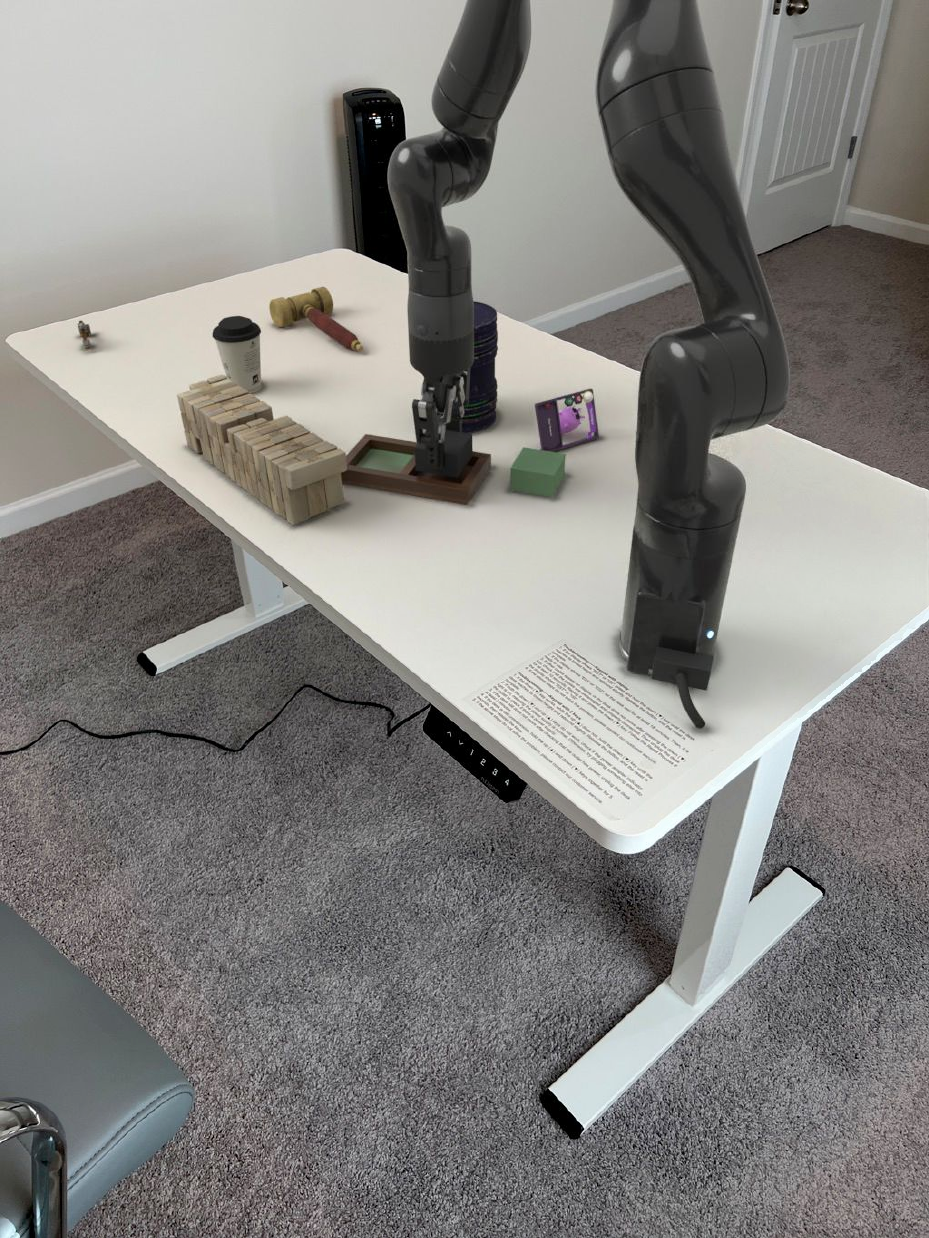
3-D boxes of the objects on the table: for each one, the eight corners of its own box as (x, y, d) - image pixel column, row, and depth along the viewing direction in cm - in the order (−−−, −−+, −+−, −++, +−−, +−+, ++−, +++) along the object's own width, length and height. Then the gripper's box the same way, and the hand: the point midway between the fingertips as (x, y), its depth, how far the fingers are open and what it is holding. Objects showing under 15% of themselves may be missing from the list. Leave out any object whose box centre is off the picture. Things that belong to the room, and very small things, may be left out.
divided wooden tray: (467, 505, 118) (467, 490, 116) (336, 482, 122) (335, 467, 121) (491, 468, 124) (491, 454, 123) (366, 447, 129) (365, 433, 128)
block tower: (183, 448, 131) (297, 532, 113) (170, 390, 126) (286, 468, 108) (234, 430, 135) (352, 508, 117) (223, 373, 130) (345, 446, 112)
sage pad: (553, 498, 119) (554, 475, 117) (509, 490, 120) (510, 468, 118) (564, 476, 123) (565, 453, 121) (522, 469, 124) (523, 447, 122)
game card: (539, 404, 124) (596, 388, 127) (518, 402, 128) (573, 386, 132) (546, 455, 126) (602, 438, 130) (526, 451, 131) (580, 435, 134)
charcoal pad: (457, 477, 118) (457, 454, 116) (415, 470, 120) (414, 447, 118) (472, 456, 122) (472, 433, 120) (431, 449, 124) (430, 427, 122)
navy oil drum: (484, 397, 141) (484, 296, 131) (507, 427, 133) (509, 322, 124) (418, 407, 138) (414, 305, 129) (438, 438, 131) (435, 332, 122)
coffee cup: (273, 393, 142) (264, 327, 136) (226, 401, 140) (215, 335, 134) (263, 374, 147) (254, 310, 141) (218, 382, 145) (206, 318, 139)
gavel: (387, 327, 153) (333, 343, 148) (387, 354, 156) (334, 370, 151) (319, 282, 165) (267, 295, 160) (321, 308, 168) (270, 321, 163)
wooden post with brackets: (81, 350, 153) (74, 320, 152) (84, 352, 161) (77, 324, 159) (93, 348, 154) (86, 319, 152) (95, 350, 161) (88, 322, 160)
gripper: (450, 354, 103) (453, 489, 114) (491, 306, 114) (490, 434, 125) (386, 345, 105) (394, 479, 116) (432, 299, 116) (436, 425, 126)
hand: (444, 455), depth 120 cm, fingers closed on charcoal pad, 5 cm apart
